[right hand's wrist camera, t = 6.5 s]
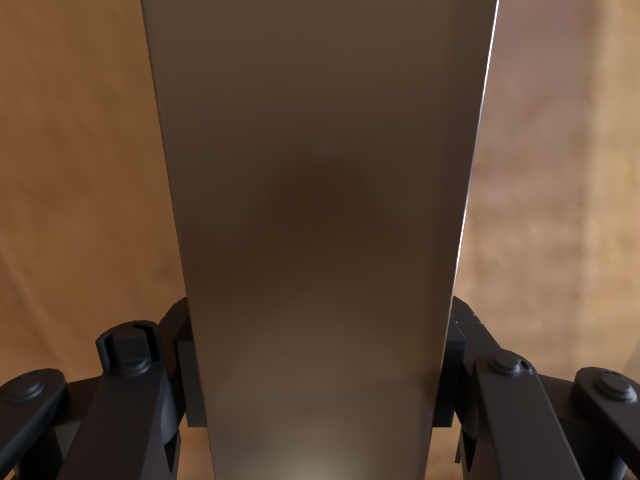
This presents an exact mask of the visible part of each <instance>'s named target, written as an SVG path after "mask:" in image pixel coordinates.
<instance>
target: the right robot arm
mask: <svg viewBox="0 0 640 480" xmlns="http://www.w3.org/2000/svg"><path fill="white" fill-rule="evenodd" d="M95 342H96V346H97V350H98V353H99V357H100V360H101V364H102V368H103V371H104V372H103V374H102V375H101V376H98V377H94V378H89V379H85V380H80V381H76V382H71V383H66V380H65V377H64V374H63V373H62V372H61V371H59V370H57V369H50V368H47V369H40V370H35V371H31V372H29V373H28V372H27V373H25V374H22V375H20V376H18V377H16V378H14V379H12V380H10V381H8V382H7V383H5V384H4V385H2V386H1V387H0V480H4V478H5V477H6V476H7V475H8V474H9V472H10V471H11V470H12V469H13V470H14V472H15V475H14V476H13V477H12V479H11V480H177V471H178V463H179V454H180V445H181V438H180V431H179V425H180V422H181V420H182V418H183V416H184V413H185V412H186V418H187V423H188V427H207V424H206V417H205V411H204V404H203V398H202V392H201V385H200V379H199V372H198V366H197V360H196V353H195V347H194V340H193V334H192V327H191V321H190V315H189V308H188V302H187V297H184V298H183V299H181V300H180V301H178V302H177V303H175V304H174V305H172V307H171V308H170V309H169V311H168V312H167V313H166V315H165V317H163V319H162V320H161V321H160V323H159V325H157V324H156V323H154V322H151V321H147V320H138V321H131V322H127V323H122V324H120V325H118V326H115V327H113V328H111V329H109V330H108V331H106V332H104V333H103V334H101V336H100V337H99V338H98V339H97V340H96V341H95ZM454 411H455V412H456V414H457V417H458V419H459V421H460V423H461V425H462V426H461V431H460V437H459V442H458V447H457V452H456V458H455V463H458V464H460V459H461V462H462V471H463V479H464V480H631V479H630V478H629V477H628V476H627V474H626V473H625V471H626V469H627V467H628V468H629V469H630V470H631V471H632V473H633V474H634V475H635V476H636V477H637V478H638V480H640V385H639V384H637V383H636V382H635V381H633V380H631V379H629V378H627V377H625V376H623V375H622V374H620V373H617V372H615V371H611V370H608V369H604V368H597V367H586V368H581V369H580V370H579V371H578V372H577V373H576V376H575V379H574V382H572V381H567V380H562V379H558V378H553V377H548V376H544V375H541V374H538V373H537V371H536V370H535V368H534V367H533V365H532V364H531V363H530V362H529V361H527V360H526V359H525V358H523V357H522V356H520V355H518V354H516V353H514V352H511V351H508V350H504V349H501V347H500V346H499V345H498V343H497V342H496V341H495V340H494V338H493V337H492V336H491V334H490V333H489V332H488V330H487V329H486V328H485V327H484V325H483V324H481V321H480V320H479V319H478V317H477V316H475V313H474V312H473V311H472V310H471V308H470V307H469V306H468V304H466V303H465V302H463V301H462V300H460V299H459V298H457V297H456V296H453V299H452V306H451V312H450V319H449V325H448V332H447V338H446V344H445V351H444V357H443V364H442V370H441V377H440V383H439V389H438V396H437V402H436V409H435V415H434V422H433V427H452V422H453V416H454Z"/></svg>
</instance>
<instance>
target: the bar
mask: <svg viewBox="0 0 640 480" xmlns="http://www.w3.org/2000/svg"><path fill="white" fill-rule="evenodd" d="M498 3H499V0H141V7H142V13H143V19H144V26H145V32H146V39H147V45H148V52H149V58H150V64H151V71H152V77H153V84H154V90H155V96H156V103H157V109H158V116H159V122H160V129H161V135H162V141H163V148H164V154H165V161H166V167H167V173H168V180H169V186H170V193H171V199H172V206H173V212H174V218H175V225H176V231H177V238H178V244H179V250H180V257H181V263H182V270H183V276H184V283H185V289H186V295H187V302H188V308H189V315H190V321H191V327H192V334H193V340H194V347H195V353H196V360H197V366H198V372H199V379H200V385H201V392H202V398H203V404H204V411H205V417H206V424H207V430H208V437H209V443H210V449H211V456H212V462H213V469H214V475H215V480H425V473H426V467H427V460H428V454H429V447H430V441H431V435H432V428H433V422H434V415H435V409H436V402H437V396H438V389H439V383H440V377H441V370H442V364H443V357H444V351H445V344H446V338H447V332H448V325H449V319H450V312H451V306H452V299H453V293H454V286H455V280H456V274H457V267H458V261H459V254H460V248H461V241H462V235H463V229H464V222H465V216H466V209H467V203H468V196H469V190H470V184H471V177H472V171H473V164H474V158H475V151H476V145H477V138H478V132H479V126H480V119H481V113H482V106H483V100H484V93H485V87H486V81H487V74H488V68H489V61H490V55H491V48H492V42H493V35H494V29H495V23H496V16H497V10H498Z"/></svg>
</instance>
